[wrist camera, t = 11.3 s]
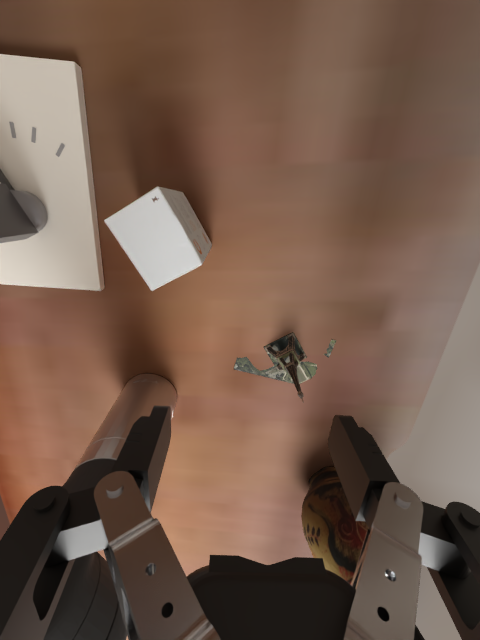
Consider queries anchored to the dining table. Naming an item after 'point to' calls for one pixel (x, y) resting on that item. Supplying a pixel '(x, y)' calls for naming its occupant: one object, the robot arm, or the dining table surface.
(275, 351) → the eiffel tower figurine
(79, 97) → the gauge board
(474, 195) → the dining table surface
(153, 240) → the small box
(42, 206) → the tuning knob
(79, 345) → the dining table surface
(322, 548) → the ceramic jug
